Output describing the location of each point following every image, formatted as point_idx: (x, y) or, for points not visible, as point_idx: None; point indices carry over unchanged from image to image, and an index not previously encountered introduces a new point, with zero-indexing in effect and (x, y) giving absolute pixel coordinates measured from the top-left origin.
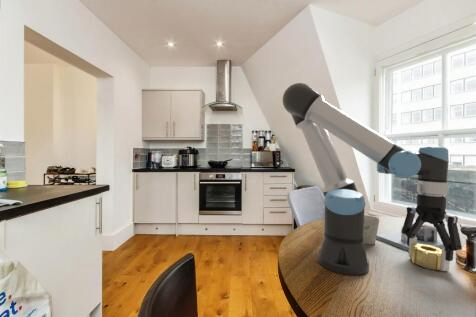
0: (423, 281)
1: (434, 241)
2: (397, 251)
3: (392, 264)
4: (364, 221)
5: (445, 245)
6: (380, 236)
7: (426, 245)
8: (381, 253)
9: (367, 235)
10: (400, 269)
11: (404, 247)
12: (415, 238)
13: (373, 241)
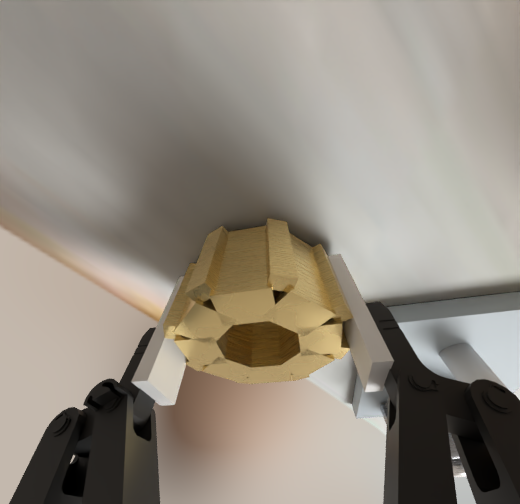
0: (33, 61)
1: (381, 406)
2: (421, 262)
3: (301, 47)
4: None
5: (112, 424)
6: None
7: (303, 366)
8: (472, 136)
9: None
10: (212, 39)
11: (420, 312)
12: (366, 382)
13: None
